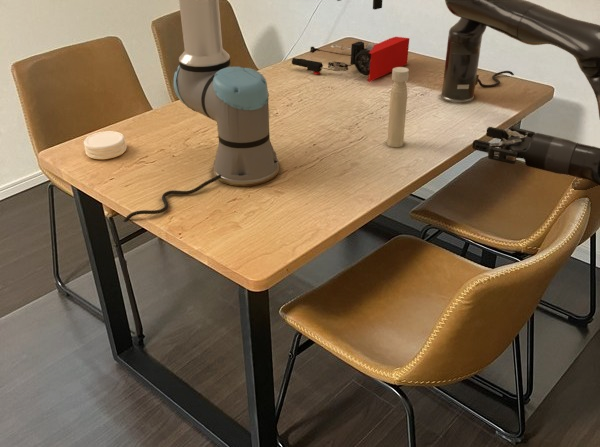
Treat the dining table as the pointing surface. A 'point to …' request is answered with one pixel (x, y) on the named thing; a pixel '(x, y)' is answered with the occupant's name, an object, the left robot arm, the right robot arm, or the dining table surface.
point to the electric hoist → (366, 58)
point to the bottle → (397, 114)
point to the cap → (400, 74)
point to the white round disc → (105, 145)
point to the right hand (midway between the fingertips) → (480, 137)
